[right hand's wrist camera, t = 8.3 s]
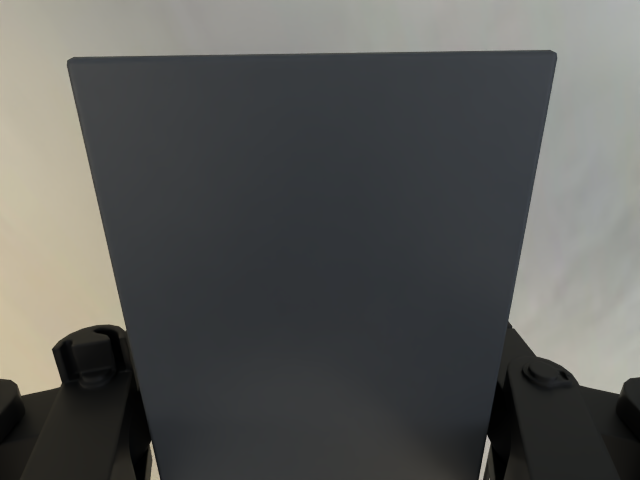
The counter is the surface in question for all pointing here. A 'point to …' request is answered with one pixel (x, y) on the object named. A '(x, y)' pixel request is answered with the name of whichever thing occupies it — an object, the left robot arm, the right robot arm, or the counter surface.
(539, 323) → the counter surface
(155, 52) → the counter surface
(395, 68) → the bar
